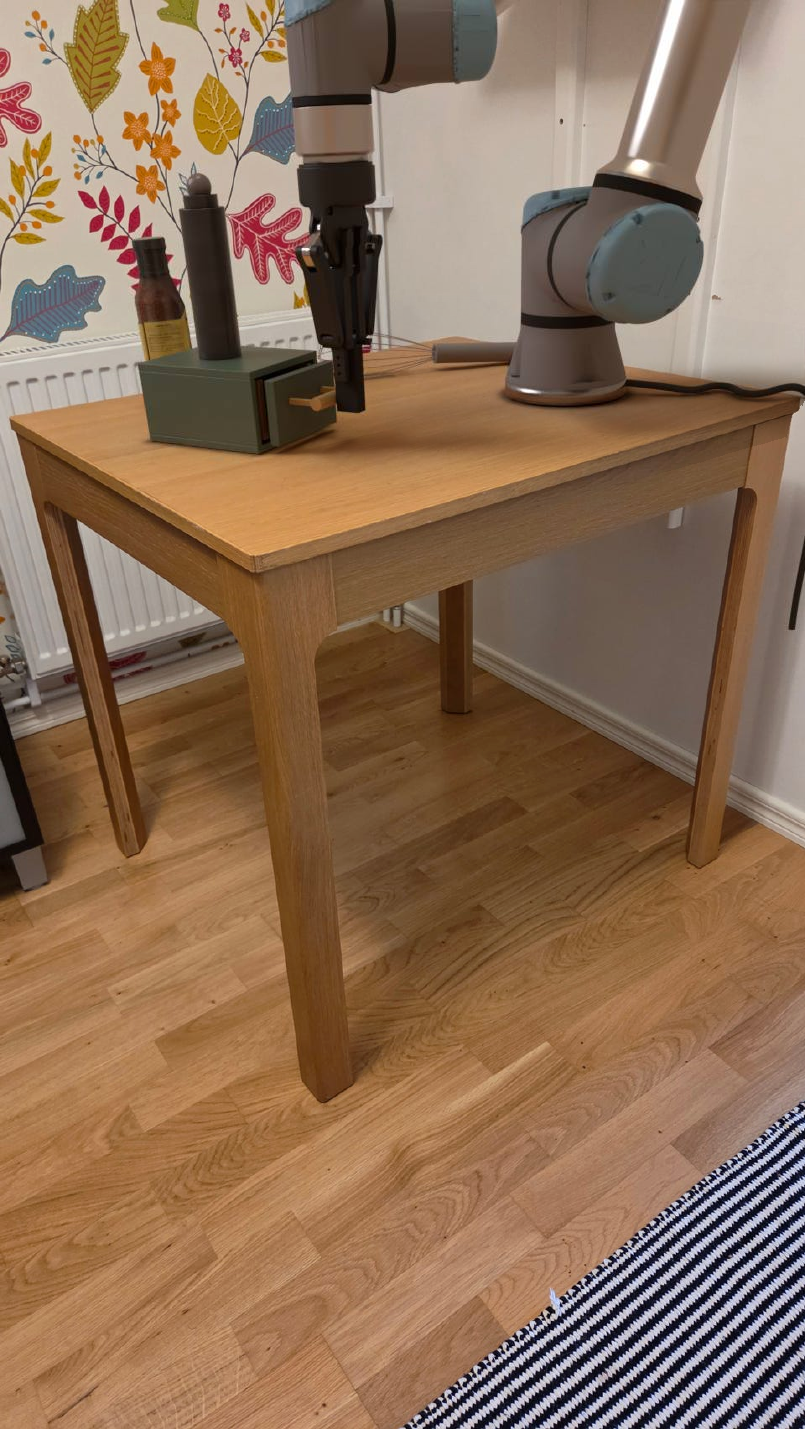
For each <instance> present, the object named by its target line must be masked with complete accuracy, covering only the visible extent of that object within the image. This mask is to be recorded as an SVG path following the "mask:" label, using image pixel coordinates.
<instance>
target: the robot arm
mask: <svg viewBox="0 0 805 1429" xmlns="http://www.w3.org/2000/svg"><path fill="white" fill-rule="evenodd" d="M517 2H519V0H283V14H284V16H283V17H284V21H283V29H284V31H285V41H286V53H287V62H288V63H287V64H288V74H289V75H288V76H289V84H290V96H291V108H292V117H293V118H292V119H293V120H292V121H293V133H294V146H295V147H294V148H295V155H296V156H297V157H299V158H302V164H298V167H297V168H296V178H297V189H298V199H299V200H298V201H299V204H300V205H301V206H302V207H304V208H308V209H309V211H310V216H309V217H310V218H309V225H308V233H309V238H308V240H307V241H306V243H305V245H303V244H299V245H296V246H295V250H294V255H295V257H296V260H297V262H298V265H299V266H300V269H301V270H302V275H303V278H304V283H305V288H306V294H307V298H308V303H309V307H310V312H311V318H312V322H313V327H314V330H315V335H316V340H317V343H318V345H319V346H320V345H321V348H322V347H323V349H330V351H332V352H331V357H332V360H333V361H332V362H333V373H334V387H335V389H336V403H337V404H336V412H338V413H339V412H340V413H349V414H360V413H363V412H365V411H366V409H367V408H366V392H365V379H364V378H365V375H364V374H365V373H364V372H365V369H364V368H365V367H364V366H365V365H364V361H363V360H364V353H363V352H364V350H363V349H364V348H363V346H371V345H372V344H371V343H373V338H372V337H373V336H372V335H375V334H374V333H375V328H376V312H377V311H376V310H377V297H378V296H377V295H378V278H379V263H380V261H379V260H380V257H381V253H382V248H383V243H384V239H383V235H382V234H380V233H379V234H376V233H375V234H373V232H371V230H370V229H369V228H370V222H369V221H370V220H369V217H368V214H367V208H366V206H368V205H373V204H374V203H375V202H376V200H377V185H376V184H377V182H376V165H375V164H373V163H374V162H373V161H372V160H370V159H369V158H370V156H369V155H372V154H373V153H374V152H375V136H374V119H373V105H372V104H373V96H372V90H373V91H376V92H381V93H386V94H395V93H398V92H400V91H402V90H406V89H411V88H419V87H422V86H428V85H433V84H454V85H460V84H461V83H468V82H478V81H481V80H484V79H485V78H486V77H487V75H488V74H489V73H490V71H491V69H492V68H493V65H494V61H495V58H496V53H497V46H498V34H499V33H498V32H499V30H498V27H499V26H498V17H499V16H500V15H502V14H503V13H504V12H505V11H507V10H508V9H509V8H511V7H512V6H513V5H514V4H516V3H517ZM753 2H754V0H661V1H660V4H659V7H658V11H657V14H656V18H655V22H654V25H653V28H652V32H651V35H650V39H649V42H648V46H647V49H646V53H645V55H644V59H643V63H642V65H641V69H640V73H639V76H638V80H637V82H636V85H635V86H636V87H635V90H634V93H633V97H632V99H631V104H630V107H629V111H628V114H627V117H626V120H625V124H624V128H623V130H622V134H621V138H620V142H619V144H618V148H617V152H616V153H615V156H614V158H613V159H611V160H610V161H609V162H608V163H606V164H605V165H603V166H602V167H600V168H599V169H597V170H596V172H595V175H594V179H593V182H592V185H589V186H587V185H586V186H577V187H567V188H562V189H552V190H547V191H541V192H538V193H535V194H532V195H531V196H529V197H528V198H527V199H526V201H525V202H524V205H523V210H522V221H521V225H520V236H521V248H520V249H521V255H520V256H521V257H520V258H521V260H520V261H521V264H520V328H519V334H518V336H517V340H516V342H517V343H516V346H515V349H514V352H513V355H512V356H511V357H510V359H509V362H507V366H506V368H507V372H506V375H505V378H504V394H505V395H506V397H507V398H510V399H511V400H514V401H517V402H522V403H526V404H531V405H533V404H534V405H543V406H584V405H594V404H600V403H605V402H610V401H613V400H616V399H619V398H621V397H622V396H624V395H625V394H626V390H627V387H629V388H638V389H648V390H657V391H664V392H671V393H676V394H677V393H678V394H690V395H691V394H701V393H706V392H710V391H715V390H720V391H721V390H723V391H727V392H729V393H731V394H733V395H735V396H737V397H741V398H747V399H758V398H764V397H769V396H773V395H777V394H780V393H785V392H795V393H796V392H797V393H800V394H801V395H803V396H804V397H805V385H804V384H801V383H797V382H789V383H783V384H779V385H775V386H771V387H767V388H763V389H756V390H755V389H754V390H753V389H752V390H751V389H746V388H745V389H744V388H741V387H739V386H737V385H736V384H733V383H732V382H731V383H730V382H722V381H719V382H718V381H712V382H708V383H704V384H699V385H680V384H674V383H673V384H672V383H668V382H666V383H665V382H661V381H659V382H658V381H650V380H639V379H630V378H627V373H626V369H625V365H624V360H623V357H622V356H623V355H622V352H621V348H620V344H619V341H618V336H617V332H616V324H620V325H627V324H629V325H630V324H631V325H645V324H651V323H654V322H657V321H659V320H661V319H663V318H665V317H666V316H668V315H669V314H670V313H672V312H674V311H675V310H677V309H678V307H680V305H682V304H683V303H684V302H685V300H686V299H687V298H688V296H690V294H691V292H692V290H693V289H694V287H695V285H696V284H697V281H698V279H699V277H700V273H701V271H702V267H703V263H704V257H705V256H704V255H705V254H704V253H705V250H704V249H705V248H704V245H705V244H704V241H703V240H702V238H701V229H700V227H699V225H698V223H697V220H698V216H699V214H700V212H701V211H700V210H701V208H702V205H703V202H704V196H703V194H702V192H701V189H700V188H699V185H698V182H697V178H696V176H697V173H698V171H699V167H700V164H701V161H702V159H703V155H704V152H705V148H706V145H707V142H708V140H709V137H710V134H711V130H712V127H713V125H714V122H715V118H716V116H717V112H718V108H719V106H720V103H721V100H722V96H723V93H724V91H725V88H726V83H727V81H728V78H729V75H730V72H731V68H732V66H733V63H734V60H735V57H736V53H737V51H738V48H739V45H740V41H741V38H742V36H743V32H744V30H745V26H746V23H747V20H748V17H749V13H750V11H751V7H752V4H753ZM368 336H369V337H368ZM371 336H372V337H371ZM795 578H796V579H795V584H794V590H793V594H792V600H791V606H790V612H789V619H788V621H789V622H788V626H787V630H789V631H795V630H796V625H797V618H798V612H799V606H800V601H801V600H800V599H801V595H802V589H803V583H804V579H805V536H804V538H803V543H802V547H801V554H800V559H799V564H798V569H797V574H796V577H795Z"/></svg>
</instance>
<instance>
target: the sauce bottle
mask: <svg viewBox="0 0 805 1429" xmlns="http://www.w3.org/2000/svg"><path fill="white" fill-rule="evenodd" d="M131 246H132V251H133V253H134V254H135V260H136V265H137V270H138V271H137V272H138V273H137V275H138V278H139V280H138V286H137V289H136V292H135V295H134V305H135V306H134V307H135V311H136V315H137V320H138V322H137V326H138V330H139V336H140V341H141V347H142V351H143V356H144V362H145V361H148V360H152V359H156V358H159V357H163V356H167V355H170V354H174V353H178V352H181V351H185V350H188V349H192V348H193V345H192V338H191V332H190V327H189V321H188V315H187V314H188V313H187V309H186V305H185V303H184V301H183V298H182V296H181V294H180V292H179V290H178V288H177V286H176V284H175V281H174V279H173V278H172V275H171V273H170V272H171V271H170V269H169V263H168V257H167V252H166V250H167V244H166V239H165V237H164V236H161V235H160V236H159V235H158V236H144V237H137V238H133V239H131Z"/></svg>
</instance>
